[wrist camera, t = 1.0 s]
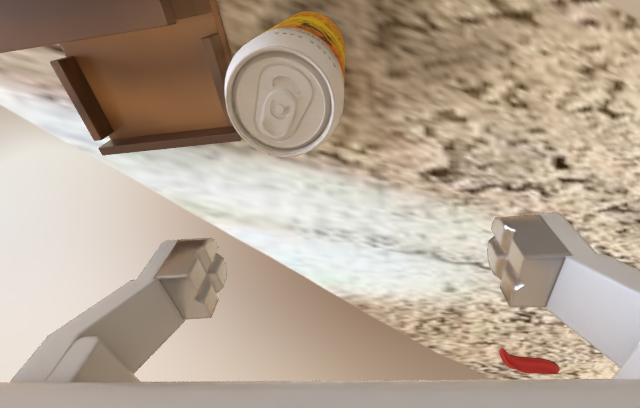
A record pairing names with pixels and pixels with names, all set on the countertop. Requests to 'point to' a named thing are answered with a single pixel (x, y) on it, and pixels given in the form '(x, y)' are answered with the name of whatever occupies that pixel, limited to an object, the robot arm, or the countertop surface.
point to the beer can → (288, 86)
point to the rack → (133, 67)
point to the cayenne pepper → (529, 364)
